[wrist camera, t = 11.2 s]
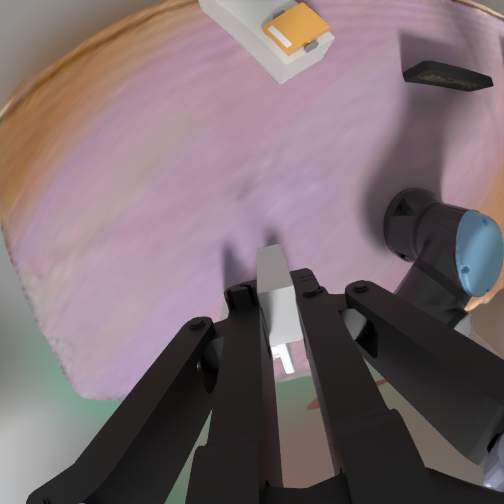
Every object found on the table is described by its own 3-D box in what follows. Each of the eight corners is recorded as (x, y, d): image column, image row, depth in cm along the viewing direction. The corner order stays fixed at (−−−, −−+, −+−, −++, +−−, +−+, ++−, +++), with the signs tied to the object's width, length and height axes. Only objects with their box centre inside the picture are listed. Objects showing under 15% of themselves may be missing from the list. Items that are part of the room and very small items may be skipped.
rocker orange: (289, 57, 32) (288, 54, 31) (261, 30, 31) (259, 26, 29) (330, 31, 29) (331, 27, 27) (301, 5, 28) (301, 0, 26)
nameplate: (467, 84, 39) (493, 77, 29) (468, 92, 39) (495, 85, 30) (401, 73, 40) (426, 59, 31) (403, 81, 41) (428, 69, 31)
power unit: (280, 84, 42) (287, 60, 31) (201, 10, 37) (190, -21, 26) (322, 58, 40) (339, 32, 29) (243, -13, 35) (240, -45, 24)
